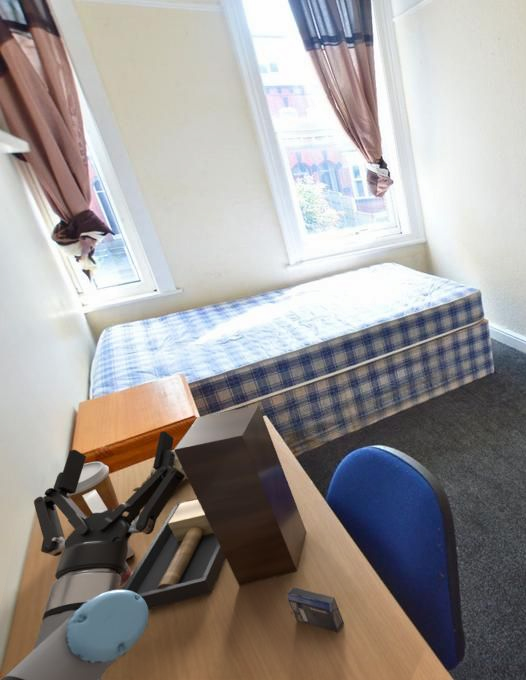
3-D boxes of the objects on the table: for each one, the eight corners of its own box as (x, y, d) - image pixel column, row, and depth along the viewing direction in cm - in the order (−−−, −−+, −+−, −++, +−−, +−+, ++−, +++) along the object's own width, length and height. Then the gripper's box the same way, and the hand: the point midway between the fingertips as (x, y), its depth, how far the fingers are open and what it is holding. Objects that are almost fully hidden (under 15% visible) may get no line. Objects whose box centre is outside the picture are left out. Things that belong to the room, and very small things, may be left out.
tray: (211, 592, 84) (205, 580, 82) (121, 616, 81) (113, 603, 80) (251, 497, 107) (246, 486, 106) (182, 513, 104) (176, 502, 103)
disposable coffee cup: (67, 527, 104) (40, 484, 99) (114, 498, 112) (90, 457, 107) (92, 536, 100) (65, 492, 96) (138, 505, 108) (115, 463, 104)
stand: (297, 571, 86) (242, 435, 74) (239, 586, 84) (173, 449, 72) (306, 531, 95) (258, 404, 83) (254, 544, 93) (198, 417, 82)
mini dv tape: (296, 621, 76) (285, 595, 74) (303, 612, 78) (292, 587, 75) (338, 632, 74) (328, 606, 72) (344, 623, 75) (334, 597, 73)
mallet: (192, 589, 84) (182, 569, 82) (144, 601, 83) (132, 581, 81) (228, 511, 102) (220, 494, 100) (189, 521, 101) (180, 503, 99)
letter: (140, 562, 92) (117, 523, 88) (126, 570, 91) (103, 531, 87) (111, 518, 106) (90, 482, 102) (99, 524, 104) (78, 488, 100)
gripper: (10, 606, 68) (56, 470, 80) (196, 559, 72) (213, 437, 85) (-37, 597, 62) (21, 451, 74) (170, 547, 66) (191, 417, 79)
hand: (123, 443), depth 79 cm, fingers open, 13 cm apart
